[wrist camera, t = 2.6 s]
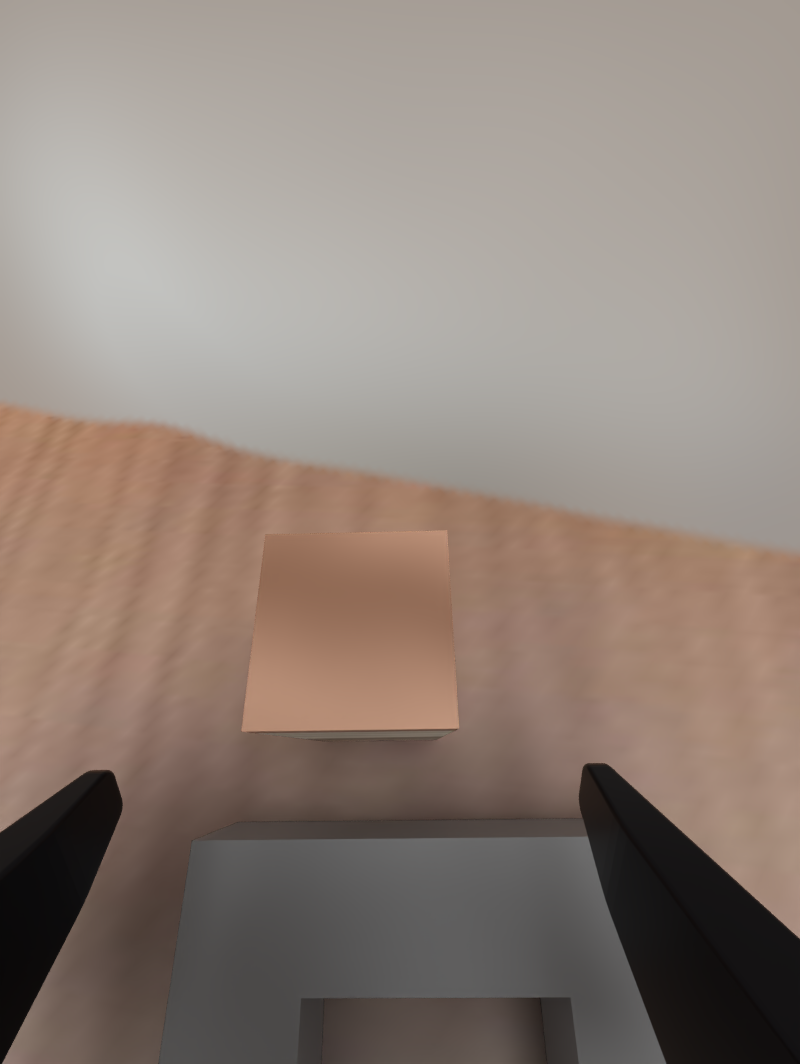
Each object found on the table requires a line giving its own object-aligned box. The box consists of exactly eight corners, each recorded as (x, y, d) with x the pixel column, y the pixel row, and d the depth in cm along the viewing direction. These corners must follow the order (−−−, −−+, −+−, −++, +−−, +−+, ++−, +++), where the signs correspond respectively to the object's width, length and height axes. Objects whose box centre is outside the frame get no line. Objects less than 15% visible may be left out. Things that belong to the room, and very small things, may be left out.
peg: (436, 739, 18) (458, 728, 9) (325, 741, 18) (241, 731, 9) (432, 629, 20) (447, 530, 11) (331, 631, 20) (265, 534, 11)
